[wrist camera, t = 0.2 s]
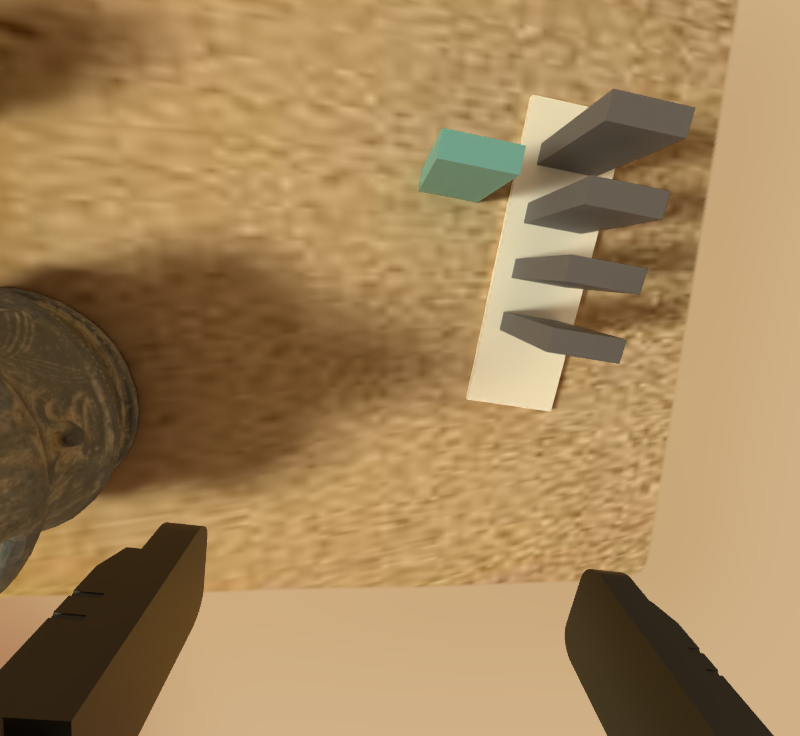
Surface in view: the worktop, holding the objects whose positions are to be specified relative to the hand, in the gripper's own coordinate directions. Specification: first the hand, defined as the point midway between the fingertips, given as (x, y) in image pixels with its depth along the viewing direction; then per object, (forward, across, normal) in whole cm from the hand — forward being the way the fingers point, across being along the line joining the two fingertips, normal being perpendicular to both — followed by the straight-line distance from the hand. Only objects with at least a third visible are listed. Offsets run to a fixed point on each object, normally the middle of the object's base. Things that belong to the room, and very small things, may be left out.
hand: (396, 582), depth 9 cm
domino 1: (+28, -4, -14) cm, 32 cm away
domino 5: (+28, -13, -4) cm, 31 cm away
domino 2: (+28, -13, -17) cm, 35 cm away
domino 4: (+28, -13, -8) cm, 31 cm away
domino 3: (+28, -13, -13) cm, 33 cm away
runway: (+28, -13, -9) cm, 32 cm away
